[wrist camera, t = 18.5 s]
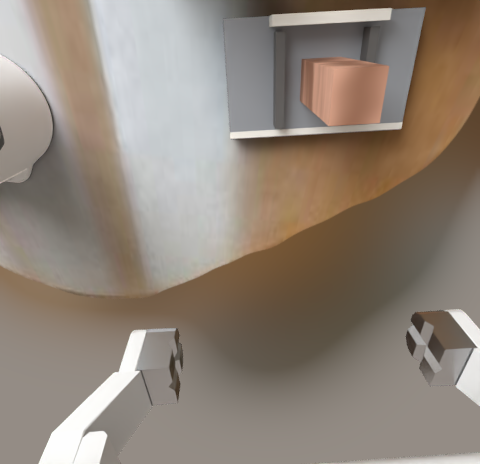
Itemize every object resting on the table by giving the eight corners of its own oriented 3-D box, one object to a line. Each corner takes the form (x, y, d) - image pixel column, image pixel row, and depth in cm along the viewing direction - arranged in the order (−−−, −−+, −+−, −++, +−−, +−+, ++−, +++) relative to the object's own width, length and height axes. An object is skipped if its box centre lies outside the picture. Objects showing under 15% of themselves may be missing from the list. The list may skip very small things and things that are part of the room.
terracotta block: (299, 100, 40) (328, 126, 29) (301, 58, 37) (333, 69, 26) (336, 98, 40) (379, 123, 29) (340, 56, 37) (389, 65, 26)
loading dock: (230, 133, 44) (230, 146, 39) (223, 19, 38) (222, 17, 32) (390, 124, 45) (412, 135, 39) (412, 9, 38) (441, 5, 33)
